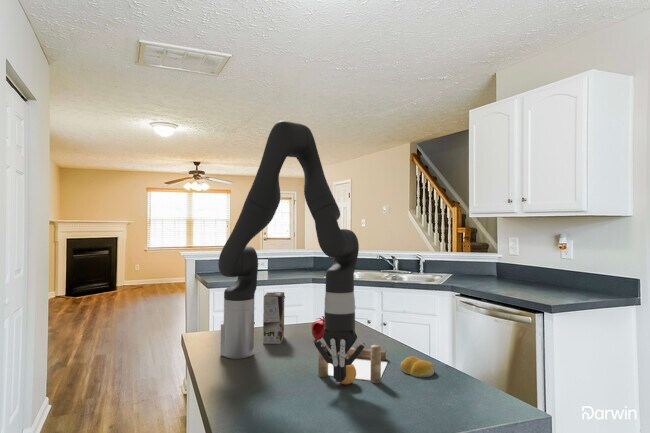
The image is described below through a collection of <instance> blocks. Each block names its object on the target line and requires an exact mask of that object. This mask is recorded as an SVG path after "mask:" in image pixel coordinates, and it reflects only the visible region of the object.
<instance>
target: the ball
mask: <svg viewBox="0 0 650 433" xmlns="http://www.w3.org/2000/svg"><path fill="white" fill-rule="evenodd" d="M355 377H356V369H355V367H354V365H353V364H351V365H346V378H345V379H344V380H343V381H342V382H339V383H340V384H342V385H349V384H350V385H351V384H352V383H353V382H354V381H355V380H356V379H355Z"/></svg>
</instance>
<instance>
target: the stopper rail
mask: <svg viewBox="0 0 650 433" xmlns="http://www.w3.org/2000/svg"><path fill="white" fill-rule="evenodd" d="M355 351H356V350H355V349H354V347H353V346H352V347H351V348H350V350H349V351H348V355H347V358H350V357H351V356H352V354H353V353H354V352H355ZM356 359H366V360H371V348H364V349H363V350H362V351H361V353H360V354H359V355H358V356H357V358H356ZM381 361H385V362H386V361H387V351H386V350H385V349H384V350H383V349H381Z"/></svg>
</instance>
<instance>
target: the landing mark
mask: <svg viewBox="0 0 650 433" xmlns="http://www.w3.org/2000/svg"><path fill="white" fill-rule="evenodd" d="M348 358H349V357H347V359H348ZM352 364H353V365H354V367H355V369H356V377H355V379H354V380H361V381H368V382H371V360H370V359H360V358H356V359H355V360H354V361H353V363H352ZM387 365H388V361H386V360H385V361H381V378H382V377H383V374H384V372H385V369H386V367H387ZM327 377H333V378H334V367H333V365H332V364H331V363H328V376H327Z"/></svg>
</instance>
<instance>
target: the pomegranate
mask: <svg viewBox="0 0 650 433" xmlns="http://www.w3.org/2000/svg"><path fill="white" fill-rule="evenodd" d="M310 330H311V334H312V337H313V338H314V340H315V341H318V340H320V339H321V338H323V334H324V331H325V315H324V316H322V315H321V317H318V318H316V321H314V322H313V323H312V324H311V329H310Z"/></svg>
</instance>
